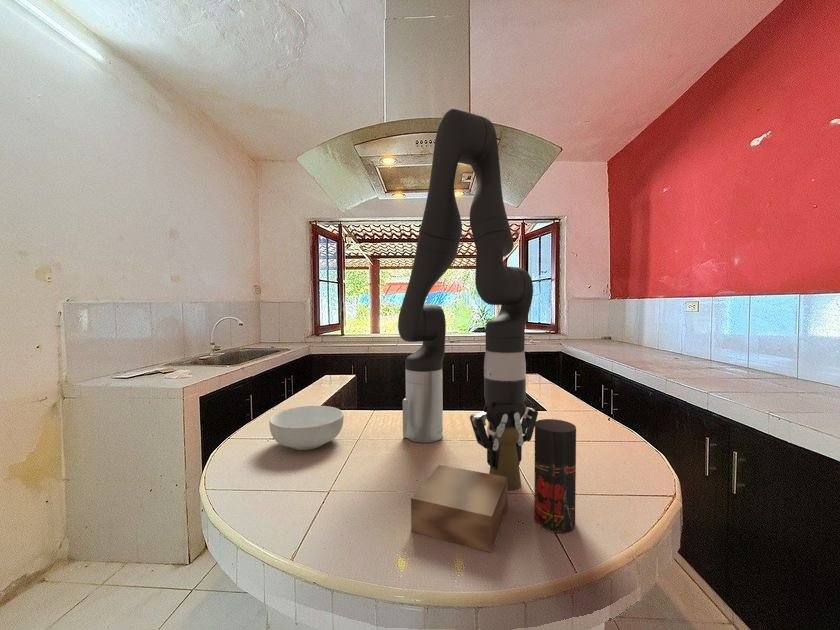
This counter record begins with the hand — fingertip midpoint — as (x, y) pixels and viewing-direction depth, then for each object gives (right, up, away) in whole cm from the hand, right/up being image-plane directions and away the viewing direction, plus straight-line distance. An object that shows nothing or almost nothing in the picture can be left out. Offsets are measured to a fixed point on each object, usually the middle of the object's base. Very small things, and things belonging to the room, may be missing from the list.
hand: (504, 465), depth 69 cm
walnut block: (-9, -4, -11) cm, 15 cm away
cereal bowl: (-43, -3, +20) cm, 47 cm away
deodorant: (+5, -4, -12) cm, 14 cm away
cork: (0, -3, 0) cm, 3 cm away
